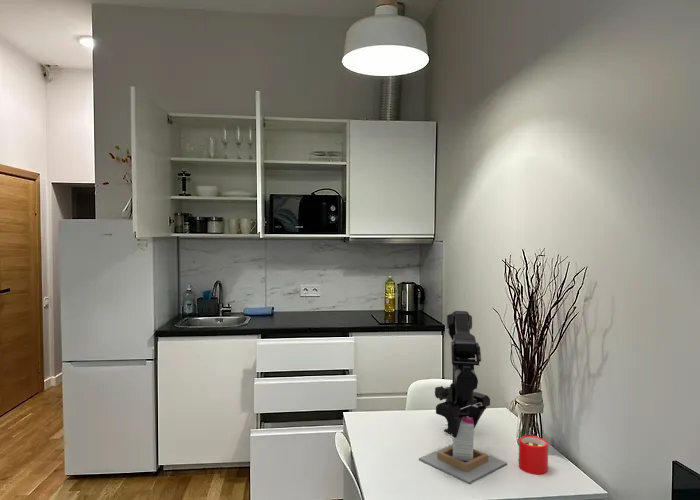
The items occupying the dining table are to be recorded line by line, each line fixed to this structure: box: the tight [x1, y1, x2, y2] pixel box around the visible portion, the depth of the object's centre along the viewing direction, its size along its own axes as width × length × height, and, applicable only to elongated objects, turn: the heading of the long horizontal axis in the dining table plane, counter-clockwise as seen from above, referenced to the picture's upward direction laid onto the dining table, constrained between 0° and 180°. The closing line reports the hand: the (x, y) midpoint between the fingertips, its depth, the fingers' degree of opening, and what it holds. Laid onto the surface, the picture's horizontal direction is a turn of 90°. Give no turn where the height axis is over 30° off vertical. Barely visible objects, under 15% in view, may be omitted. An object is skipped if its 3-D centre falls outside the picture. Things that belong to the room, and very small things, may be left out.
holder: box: [418, 443, 508, 485], centre depth 143 cm, size 18×18×3 cm
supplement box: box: [452, 417, 475, 462], centre depth 143 cm, size 6×6×12 cm
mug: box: [518, 435, 549, 476], centre depth 142 cm, size 8×12×8 cm, turn 154°
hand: (463, 433), depth 143 cm, fingers closed on supplement box, 8 cm apart
